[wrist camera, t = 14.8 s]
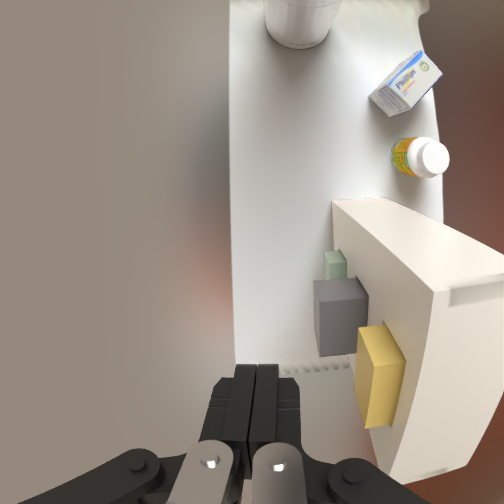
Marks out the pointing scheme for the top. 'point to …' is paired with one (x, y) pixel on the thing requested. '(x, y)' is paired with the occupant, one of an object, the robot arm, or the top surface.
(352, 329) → the charcoal key
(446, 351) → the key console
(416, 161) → the supplement bottle
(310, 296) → the top surface
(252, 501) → the robot arm
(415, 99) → the medicine box
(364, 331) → the tan square block
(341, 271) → the sage key
